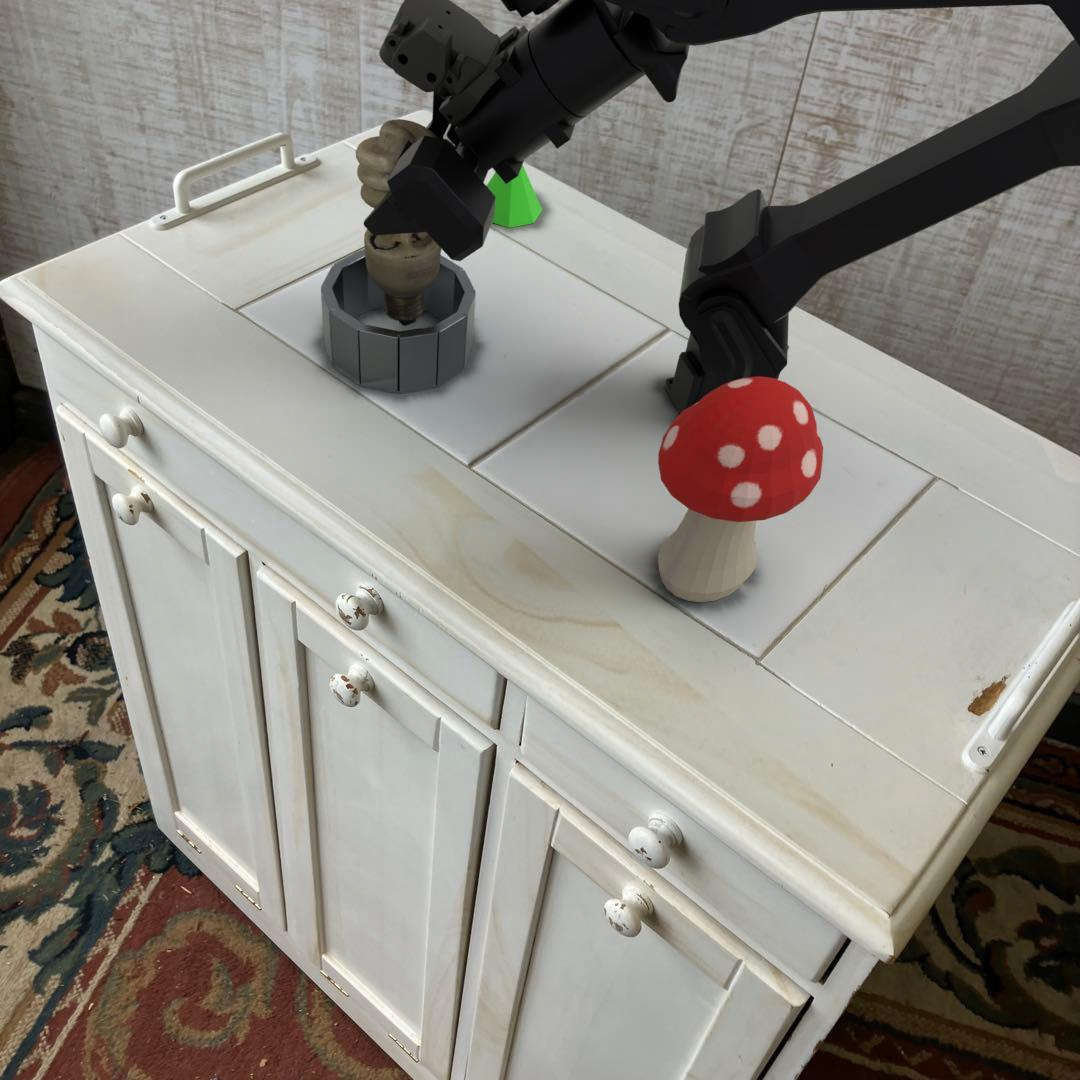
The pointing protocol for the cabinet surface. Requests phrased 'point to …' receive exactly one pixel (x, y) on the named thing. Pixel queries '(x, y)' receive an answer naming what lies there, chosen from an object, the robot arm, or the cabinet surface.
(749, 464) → the decorative mushroom
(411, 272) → the light bulb
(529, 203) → the green faceted cone
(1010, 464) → the cabinet surface
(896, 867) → the cabinet surface
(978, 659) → the cabinet surface
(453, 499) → the cabinet surface
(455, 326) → the faceted gray ring
